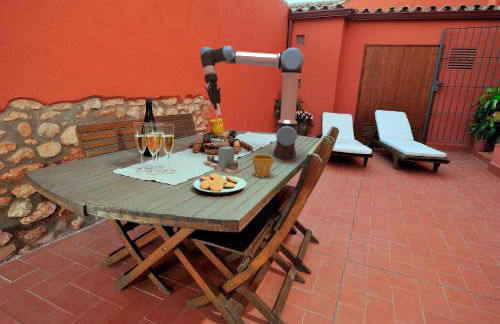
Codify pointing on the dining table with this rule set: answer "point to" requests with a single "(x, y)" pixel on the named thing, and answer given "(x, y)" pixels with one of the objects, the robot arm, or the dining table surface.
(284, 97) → the robot arm
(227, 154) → the marker sleeve
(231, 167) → the cord board
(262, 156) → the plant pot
